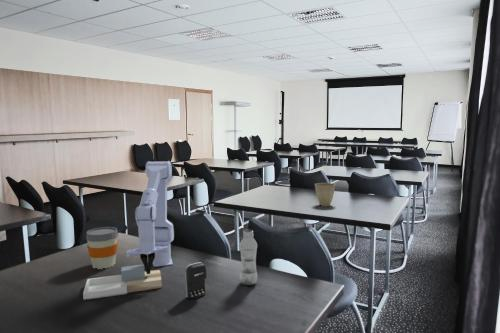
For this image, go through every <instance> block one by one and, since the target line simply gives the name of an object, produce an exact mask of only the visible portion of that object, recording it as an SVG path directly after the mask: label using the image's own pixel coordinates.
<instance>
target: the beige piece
mask: <svg viewBox="0 0 500 333" xmlns="http://www.w3.org/2000/svg"><path fill="white" fill-rule="evenodd" d="M144 271H145V279H139V280H132V281H127V294H128V293H133V292H134V293H135V292H141V291H147V290H148V291H149V290H154V289H161V288H162V287H163V286H162V285H163V284H162V275H161V270H160V269H154V270H150V274H147V273H146V270H144Z"/></svg>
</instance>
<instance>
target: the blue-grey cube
mask: <svg viewBox="0 0 500 333" xmlns="http://www.w3.org/2000/svg"><path fill="white" fill-rule="evenodd" d="M132 266H133V280H139V279H145V271H146V270H145V266H144V264H143V263H142V264H135V265H132Z"/></svg>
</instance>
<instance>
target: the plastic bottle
mask: <svg viewBox="0 0 500 333" xmlns="http://www.w3.org/2000/svg"><path fill="white" fill-rule="evenodd" d="M242 234H243V235H242V237H243V238H242V239H241V241H240V243H239V251H240V259H241V263H240V264H241V265H240V272H239V280H240V283H242V284H243V285H245V286H252V285H255V284H256V283H257V281H258V272H257V252H258V250H257V249H258V243H257V241H256V239H255V238H254V230H253V229H243V231H242Z"/></svg>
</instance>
